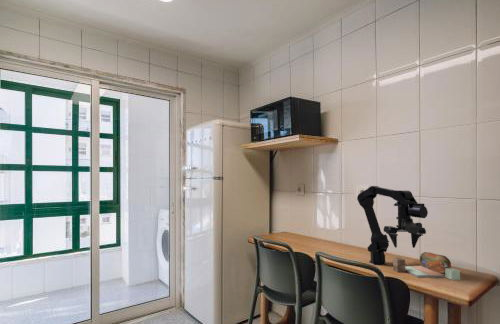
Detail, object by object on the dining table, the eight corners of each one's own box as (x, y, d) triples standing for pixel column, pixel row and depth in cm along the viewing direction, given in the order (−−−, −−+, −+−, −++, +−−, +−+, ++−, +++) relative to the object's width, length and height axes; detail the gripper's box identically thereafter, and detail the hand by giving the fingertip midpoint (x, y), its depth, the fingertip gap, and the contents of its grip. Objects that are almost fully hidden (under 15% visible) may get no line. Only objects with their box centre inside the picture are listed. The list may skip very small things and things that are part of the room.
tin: (419, 266, 152) (419, 250, 152) (424, 266, 153) (423, 250, 153) (448, 275, 137) (447, 257, 138) (452, 274, 139) (452, 256, 139)
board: (417, 277, 133) (417, 275, 133) (397, 267, 150) (397, 265, 150) (444, 277, 134) (444, 275, 134) (421, 267, 151) (421, 265, 151)
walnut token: (397, 272, 141) (397, 259, 141) (393, 269, 145) (392, 257, 145) (405, 272, 141) (405, 259, 142) (400, 269, 145) (400, 257, 146)
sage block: (451, 279, 131) (451, 270, 131) (445, 277, 135) (445, 268, 135) (460, 279, 131) (459, 270, 131) (453, 277, 135) (453, 268, 135)
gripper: (395, 217, 135) (395, 251, 134) (433, 218, 136) (434, 251, 135) (382, 214, 146) (383, 246, 145) (418, 215, 147) (418, 246, 146)
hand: (404, 247), depth 142 cm, fingers open, 9 cm apart
